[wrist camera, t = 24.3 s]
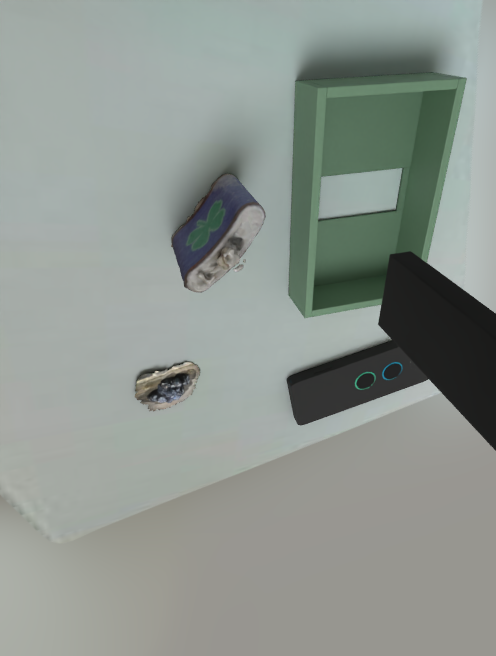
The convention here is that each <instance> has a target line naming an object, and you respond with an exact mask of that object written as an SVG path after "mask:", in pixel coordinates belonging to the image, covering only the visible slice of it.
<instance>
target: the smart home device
mask: <svg viewBox="0 0 496 656" xmlns="http://www.w3.org/2000/svg"><path fill="white" fill-rule="evenodd" d="M426 380H428V377H427V376H426V375H425V374H424V373H423V372H422V371H421V370H420V369H419V368H418V367H417V366H416V365H415V363H414V362H413V361H412V360H411V359H410V358H409V357H408V356H407V355H406V354H405V353H404V352H403V351H402V350H401V348H400V347H399V346H398V345H397V344H396V343H395V342H394V341H393V340H392V341H390V342H387V343H384V344H381V345H378V346H375V347H372V348H369V349H367V350H364V351H361V352H358V353H355V354H352V355H349V356H346V357H344V358H341V359H338V360H335V361H332V362H329V363H326V364H323V365H321V366H318V367H315V368H312V369H309V370H306V371H303V372H300V373H298V374H295V375H292V376H290V377H289V378H288V379H287V384H288V389H289V394H290V399H291V404H292V410H293V415H294V418H295V420H296V422H297V424H298V425H305V424H308V423H311V422H313V421H316V420H319V419H322V418H324V417H327V416H330V415H333V414H335V413H338V412H341V411H344V410H346V409H349V408H352V407H355V406H358V405H360V404H363V403H366V402H369V401H371V400H374V399H377V398H380V397H382V396H385V395H388V394H391V393H393V392H396V391H399V390H402V389H405V388H407V387H410V386H413V385H416V384H418V383H421V382H424V381H426Z"/></svg>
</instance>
